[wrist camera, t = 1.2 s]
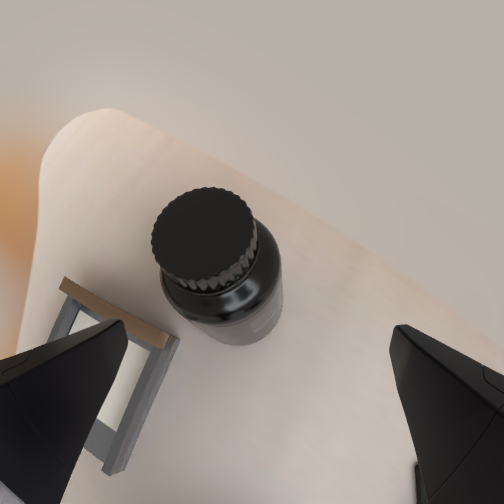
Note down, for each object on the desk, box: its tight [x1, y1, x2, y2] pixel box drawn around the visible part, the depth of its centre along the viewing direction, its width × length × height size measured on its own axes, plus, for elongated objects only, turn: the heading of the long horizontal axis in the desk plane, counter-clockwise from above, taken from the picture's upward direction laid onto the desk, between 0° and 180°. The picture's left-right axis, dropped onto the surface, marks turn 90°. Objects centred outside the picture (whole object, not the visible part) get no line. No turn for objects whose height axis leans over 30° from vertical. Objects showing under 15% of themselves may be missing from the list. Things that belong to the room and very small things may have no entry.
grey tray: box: [46, 277, 180, 476], centre depth 20 cm, size 13×11×4 cm
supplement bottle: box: [151, 187, 283, 346], centre depth 18 cm, size 7×7×12 cm
